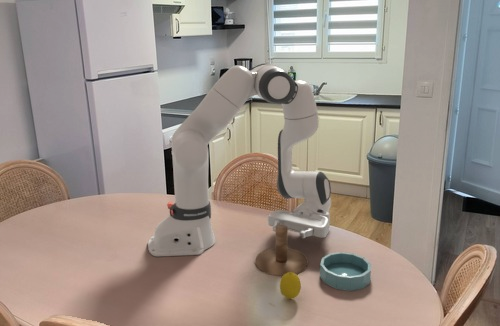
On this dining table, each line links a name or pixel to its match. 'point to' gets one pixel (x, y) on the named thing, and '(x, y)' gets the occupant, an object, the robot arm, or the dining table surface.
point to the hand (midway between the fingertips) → (288, 232)
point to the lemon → (290, 285)
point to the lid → (281, 256)
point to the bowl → (345, 271)
